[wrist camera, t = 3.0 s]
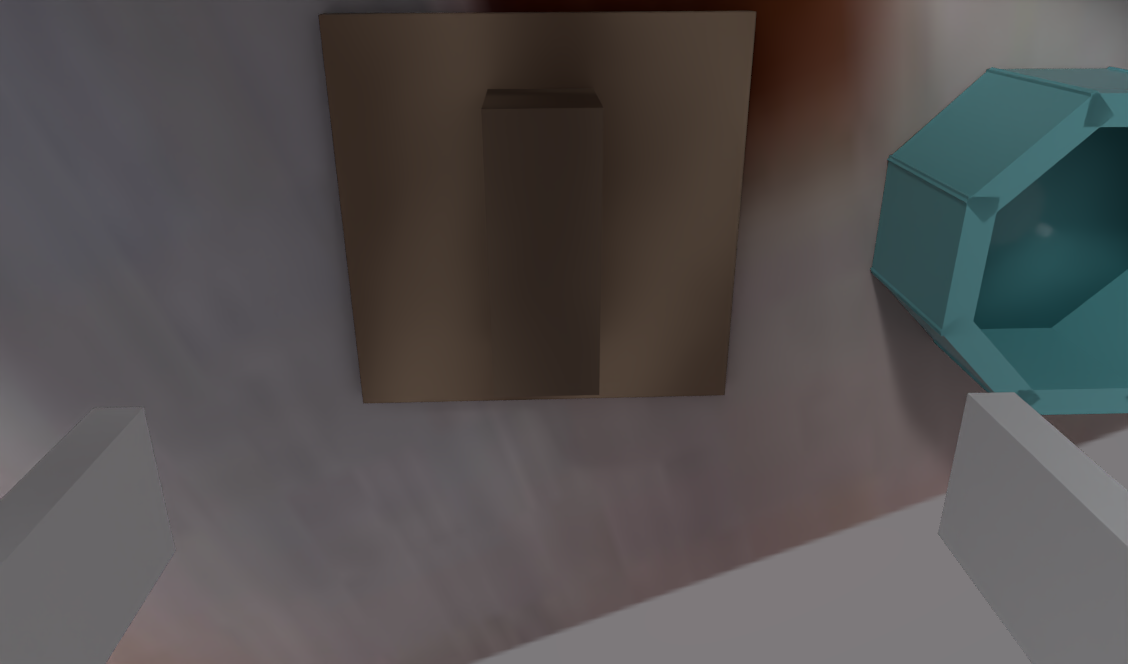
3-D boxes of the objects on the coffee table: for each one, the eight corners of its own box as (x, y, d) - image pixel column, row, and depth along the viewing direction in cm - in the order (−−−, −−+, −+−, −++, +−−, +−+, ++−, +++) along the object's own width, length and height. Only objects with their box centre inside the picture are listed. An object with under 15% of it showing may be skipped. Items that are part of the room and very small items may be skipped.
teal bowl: (858, 344, 28) (922, 418, 23) (901, 68, 24) (987, 91, 20) (1117, 340, 28) (1230, 412, 24) (1197, 66, 25) (1349, 89, 20)
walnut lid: (369, 386, 29) (341, 461, 24) (328, 12, 24) (284, 23, 19) (716, 378, 29) (749, 451, 25) (746, 9, 24) (793, 19, 20)
